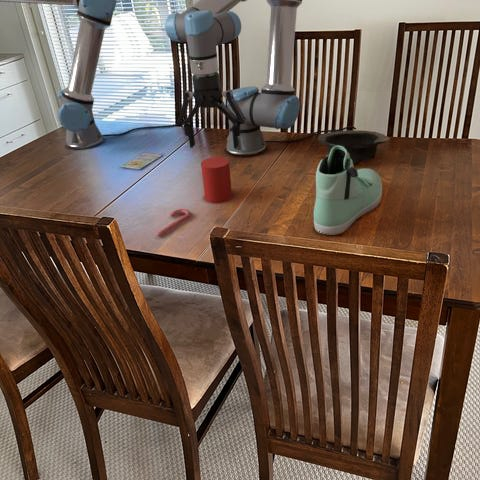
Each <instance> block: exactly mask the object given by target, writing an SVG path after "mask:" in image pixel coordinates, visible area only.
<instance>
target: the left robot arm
mask: <svg viewBox="0 0 480 480" xmlns="http://www.w3.org/2000/svg"><path fill="white" fill-rule="evenodd" d="M0 2H1V3H18V4H19V3H20V4H39V5H57V6H58V5H59V6H74V7H75V8H76V10H77V13H76V16H77V17H78V19H79V21H80V22H79V27H78V32H77V37H76V42H75V47H74V53H73V58H72V63H71V68H70V74H69V78H68V83H67V87H66V88H63V89H60V90H58V91H57V98H58V100H59V108H58V109H57V119H58V122H59V124H60V125H61V126H62V128H64V129H65V130H66V133H65V144H66V148H68V149H70V150H85V149H92V148H94V147H97V146H99V145H102V143H104V138H105V137H120V136H121V137H122V136H124V135H127V134H129V133H131V132H134V131H139V130H147V129H163V128H165V129H167V128H173V127H178V126H180V125H181V124H177V123H175V124H170V125H154V126H153V125H151V126H140V127H135V128H131V129H129V130H126V131H124V132H121V133H110V134H102V132H101V130H100V129H99V127H98V125H97V124H96V121H95V117H94V112H93V107H94V103H95V98H94V95H93V94H92V92H93V88H94V83H95V78H96V73H97V68H98V64H99V60H100V55H101V51H102V44H103V41H104V36H105V31H106V29H108V28H110V27H111V25H112V20H113V15H114V12H115V9H116V7H117V0H0ZM184 119H185V120H186V118H184Z"/></svg>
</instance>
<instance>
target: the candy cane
mask: <svg viewBox="0 0 480 480" xmlns="http://www.w3.org/2000/svg"><path fill="white" fill-rule="evenodd" d="M181 214H184V215H182V216H181V217H179V218H178V219H176V220H175V221H173V222H171V223H170V224H168V225H167V226H165V227H164V228H162V229H161V230H159V231H158V232H156V236H157V237H159V238H160V237H162V236H164V235H166V234H167V233H168V232H170V231H171V230H173V229H175V228H176V227H178V226H180V225H181V224H182V223H184V222H185V221H187V220H189V218H191V215H192V214H191V211H190V210H189V209H186V208H179V209H178V208H177V209H175V210H173V211H172V212H171V213H170V217H172V218H175V216H178V215H181Z"/></svg>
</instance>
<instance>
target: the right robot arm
mask: <svg viewBox="0 0 480 480" xmlns="http://www.w3.org/2000/svg"><path fill="white" fill-rule="evenodd" d="M247 1H248V0H198V1H196V2H195V3H194V4H193V5H191V6H190V7H189V8H187V9H186V10H184V11H183V12H181V13H180V12H175V13H171V14H169V15H167V17H166V19H165V21H164V22H165V23H164V30H165V33H166V36H167V37H168V39H170V41H173V42H180V43H187V47H188V48H187V49H188V55H189V56H188V58H189V64H190V71H191V74H192V76H191V78H192V87H193V91H190V90H188V89H187V90H185V91H184V93H183V101H182V104H181V107H180V111H179V114H178V117H177V120H176V124H180V125H182V126H183V129H184V135H185V137H188V143H189V148H190V149H193V148H194V147H195V146H196V139H195V134H194V126H193V123H191V121H192V120H193V118H194V117H195V115H196V114H197V112H198V111H199V109H200V108H203V109H208V108H209V109H214V108H216V109H217V110H219V111H220V112H221V113H222V114H223V115H224V116H225V117H226V118H227V119H228V127H229V129H228V130H229V133H228V136H227V139H226V140H227V142H226V146H225V147H226V148H225V149H226V153H227V154H228V155H229V156H232V157H236V158H237V157H239V158H250V157H256V156H258V155H262V154H263V153H264V152H265V151H266V150H267V144H268V143H269V144H270V143H273V144H277V143H278V144H282V143H283V144H285V143H294V142H299V141H304V140H306V139H308V138H310V137H313V136H314V135H316V134H317V135H318V134H324V133H329V132H334V131H345V130H349V129H353V130H356V131H357V128H356V127H355V126H353V125H348V126H345V127H342V128H338V129H325V130H324V129H323V130H318V131H314V132H312V133H310V134H309V135H306V136H303V137H300V138H294V139H287V140H285V139H284V140H265V138H264V136H263V135H264V134H263V133H262V129H261V127H264V128H271V129H276V130H288V129H290V128H292V127H293V126H294V125H295V123H296V121H297V119H298V116H299V113H300V109H301V102H300V98H299V97H298V96H297V95H295V91H296V90H295V88H294V87H293V86H292V74H293V61H294V60H293V59H294V48H295V36H296V22H297V13H298V12H297V11H298V8H299V7H300V6H301V5H302V4H303V0H266V3H267V4H268V5H269V7H270V15H269V30H268V45H267V63H266V76H265V77H266V79H265V83H264V85H263V86H262V87H261V89H259V87H257V86H254V85H253V86H245V87H239V88H236V89H233V90H232V89H231V88H230V89H227V90H224V91H223V90H222V87H221V80H220V78H221V77H220V73H219V70H220V69H219V60H218V53H217V46H221V45H222V44H226V43H228V42H231V41H234V40H235V39H236V38H238V37H239V36H240V34H241V32H242V22H241V18H240V17H239V15H238V14H237V13H236V12H234V11H231V10H232V9H233V8H235V7H236V6H237V5H238V4H239V3H240V2H241V3H242V2H244V3H245V2H247ZM223 97H224V99H225V100H226V103H225V102H224V101H223V100H222V98H223ZM193 98H194V100H195V101H196V103H195V105H194V106H193V108H192V109H191V110H190V112H189V114H188V116H187V117H186V113H187V110H188V109H189V108H188V107H189V105H190V102H191V100H192V99H193ZM185 117H186V118H185ZM185 119H186V120H185Z"/></svg>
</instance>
